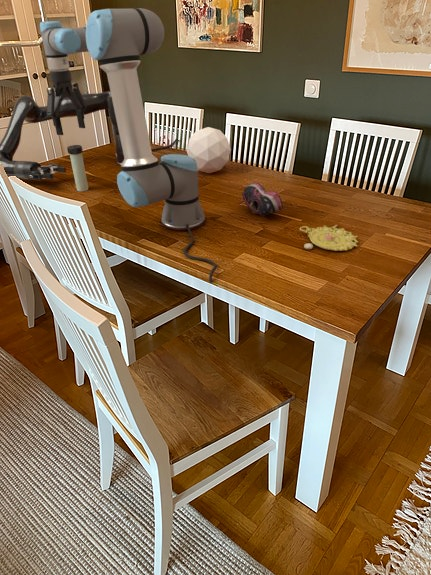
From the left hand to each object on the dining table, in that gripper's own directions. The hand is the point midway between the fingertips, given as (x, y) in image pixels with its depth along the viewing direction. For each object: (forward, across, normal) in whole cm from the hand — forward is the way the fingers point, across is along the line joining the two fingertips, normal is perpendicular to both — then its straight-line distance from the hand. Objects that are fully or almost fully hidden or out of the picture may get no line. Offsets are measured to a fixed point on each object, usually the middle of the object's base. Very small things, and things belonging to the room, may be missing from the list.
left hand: (59, 173), depth 187 cm
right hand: (+10, 0, +18) cm, 20 cm away
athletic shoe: (+87, +3, -6) cm, 87 cm away
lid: (+10, 0, +11) cm, 15 cm away
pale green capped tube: (+10, 0, -6) cm, 12 cm away
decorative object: (+115, +19, -6) cm, 117 cm away
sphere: (+54, -36, -6) cm, 66 cm away
